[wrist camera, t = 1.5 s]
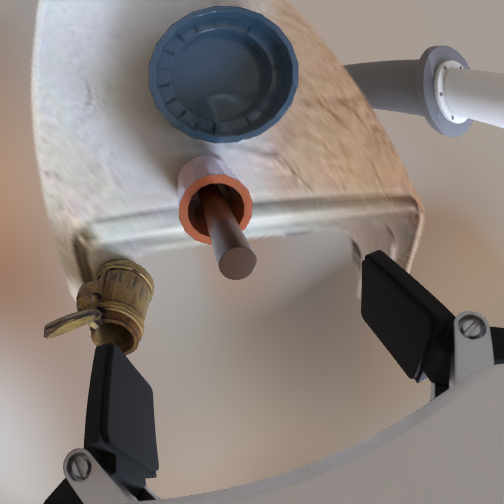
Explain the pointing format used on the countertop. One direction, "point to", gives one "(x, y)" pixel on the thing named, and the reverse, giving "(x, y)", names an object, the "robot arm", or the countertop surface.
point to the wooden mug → (111, 306)
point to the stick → (226, 235)
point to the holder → (200, 175)
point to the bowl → (223, 74)
